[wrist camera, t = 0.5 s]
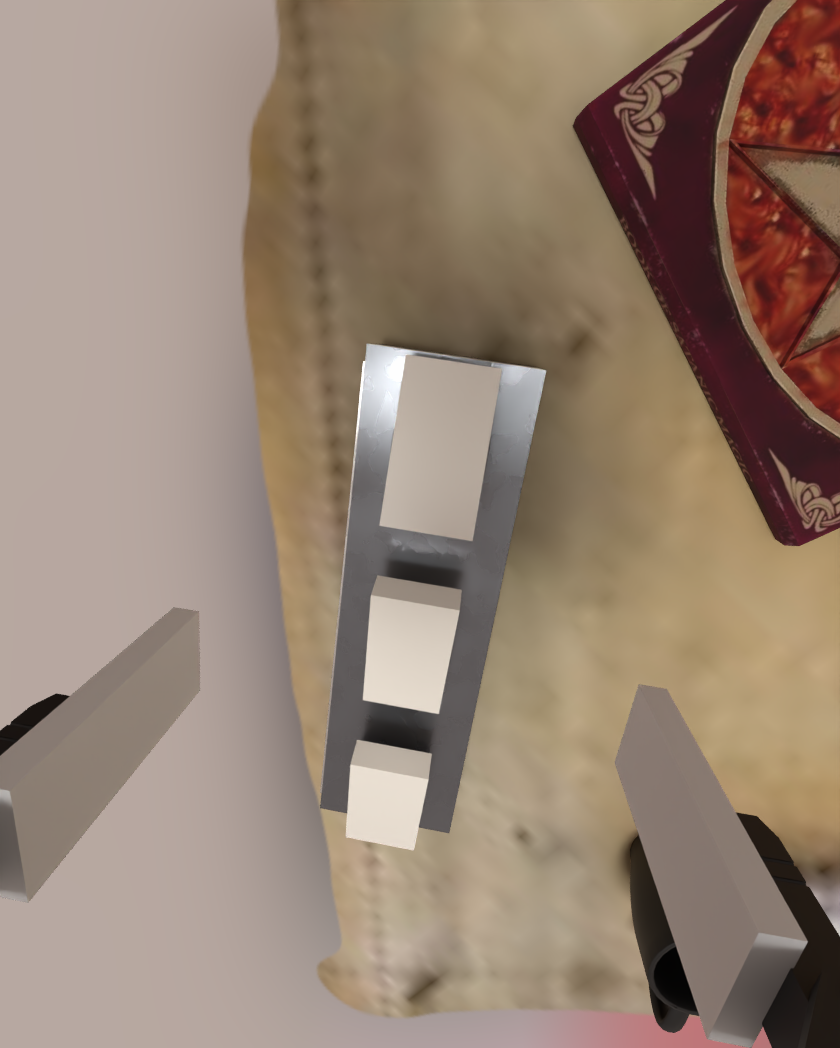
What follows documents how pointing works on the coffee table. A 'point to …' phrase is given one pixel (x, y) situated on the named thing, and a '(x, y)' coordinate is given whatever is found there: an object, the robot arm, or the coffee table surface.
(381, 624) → the white rectangular block
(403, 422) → the block
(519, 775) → the coffee table surface
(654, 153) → the book
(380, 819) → the block
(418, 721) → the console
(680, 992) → the mug
